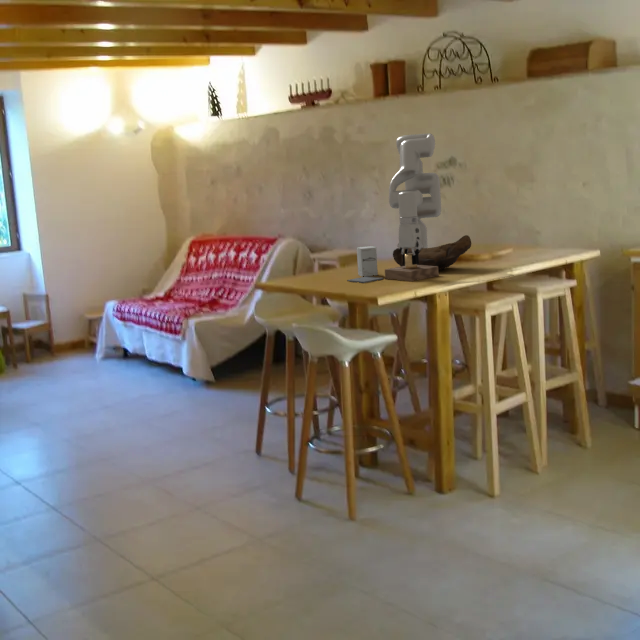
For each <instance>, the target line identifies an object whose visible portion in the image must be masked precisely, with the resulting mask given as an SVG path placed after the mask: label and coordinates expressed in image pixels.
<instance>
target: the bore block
mask: <svg viewBox="0 0 640 640" xmlns="http://www.w3.org/2000/svg"><path fill="white" fill-rule="evenodd" d="M434 277H439V270H438V266H426V265H417V268H416V269H405V266H397V267H396V266H395V267H391V268H386V269H384V279H385V280H393V279H397V280H396V281H403V280H405V281H406V282H415V281H420V280H424V279H425V280H426V279H430V278H434ZM414 280H415V281H414ZM405 281H404V282H405Z"/></svg>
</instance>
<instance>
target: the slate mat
mask: <svg viewBox="0 0 640 640" xmlns="http://www.w3.org/2000/svg"><path fill="white" fill-rule="evenodd" d="M382 279H383V280H384V277H379V276H378V277H376V276H364V277H362V276H360V277H356V278H352V279H347V280H346V281H347V282H348V281H350V282H349V283H357V282H359V283H360V284H365V283H366V284H367V283H371V282H372V281H373V282H378V281H382ZM377 280H378V281H377ZM373 282H372V283H373Z"/></svg>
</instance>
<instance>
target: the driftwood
mask: <svg viewBox="0 0 640 640" xmlns="http://www.w3.org/2000/svg"><path fill="white" fill-rule="evenodd" d="M470 237H471V236H469V234H468V235H467V234H466V235H463V236H462V237H461V238H459V239H458V240H455V242H451V243H446V244H442V245H439V246H433V247H428V248H422V250H421V251H420V254H419V255H418V256H419V264H417V265H426V266H438V271H440V270H444V269H447V268H449V267H450V266H453V265H454V264H455V263H456V262H457V260H458V259H459V258H460V257H461V256H462V255H463V254H465V253H466V252H467V251H468V250H469V249H471V247H472V240H471V238H470ZM405 250H406V249H405ZM415 251H416V249H415ZM408 253H412V249H411V248H409V249H408ZM392 258H393V260H394V262H395V263H396V264H397V265H399V267H401V266H405V264H403V255H402V254H401V251H400V249H399V248H398V247H397V248H395V249H394V250H393V251H392Z"/></svg>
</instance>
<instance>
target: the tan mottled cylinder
mask: <svg viewBox="0 0 640 640" xmlns="http://www.w3.org/2000/svg"><path fill="white" fill-rule="evenodd" d="M412 255H413V253H408V254H405V269H416V268H417V264H415V265H413V264H412Z"/></svg>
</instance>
